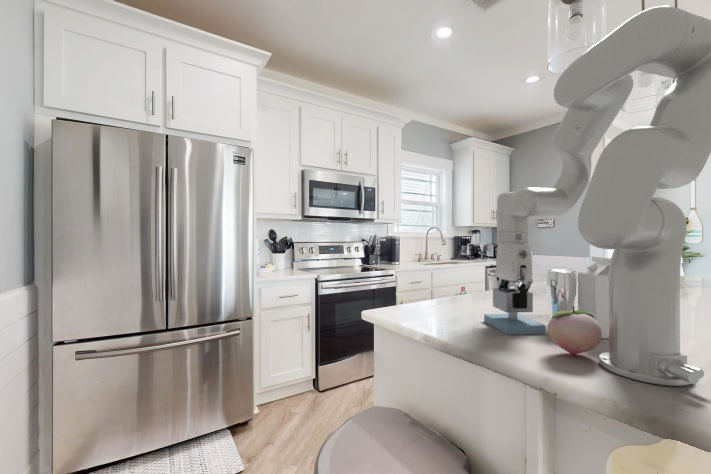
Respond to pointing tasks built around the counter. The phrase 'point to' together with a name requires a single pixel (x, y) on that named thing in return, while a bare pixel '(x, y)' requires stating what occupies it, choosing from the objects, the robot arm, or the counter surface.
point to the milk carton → (595, 291)
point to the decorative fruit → (575, 331)
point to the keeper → (514, 323)
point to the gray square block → (509, 300)
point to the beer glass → (561, 290)
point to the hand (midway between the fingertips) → (512, 304)
